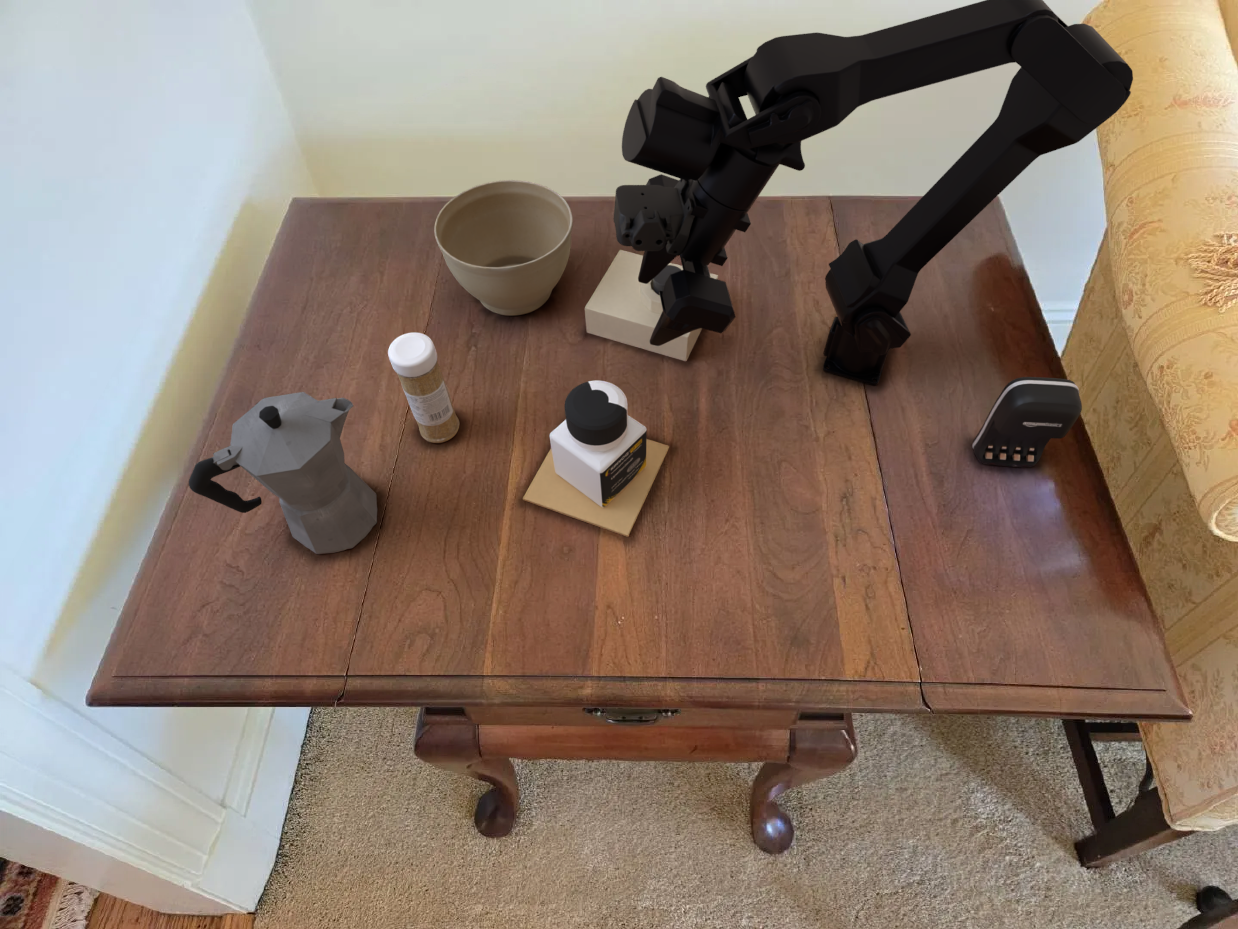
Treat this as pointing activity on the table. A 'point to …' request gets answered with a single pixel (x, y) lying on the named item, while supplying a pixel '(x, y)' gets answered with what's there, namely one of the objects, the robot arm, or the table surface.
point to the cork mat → (575, 504)
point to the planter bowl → (506, 243)
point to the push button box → (632, 309)
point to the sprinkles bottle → (424, 386)
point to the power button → (663, 277)
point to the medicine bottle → (598, 442)
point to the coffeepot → (296, 470)
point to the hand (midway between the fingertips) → (647, 312)
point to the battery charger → (1027, 420)
